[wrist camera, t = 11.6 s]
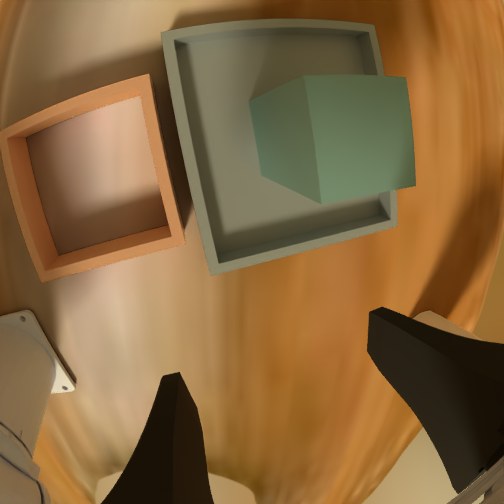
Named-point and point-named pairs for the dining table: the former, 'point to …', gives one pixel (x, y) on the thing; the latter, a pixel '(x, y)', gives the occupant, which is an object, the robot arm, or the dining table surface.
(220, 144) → the slate tray
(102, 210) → the dining table surface
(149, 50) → the dining table surface
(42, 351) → the robot arm
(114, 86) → the orange square frame
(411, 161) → the teal block
